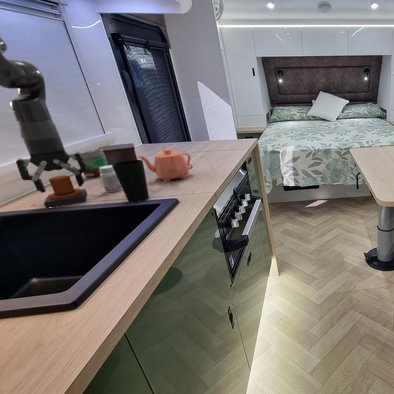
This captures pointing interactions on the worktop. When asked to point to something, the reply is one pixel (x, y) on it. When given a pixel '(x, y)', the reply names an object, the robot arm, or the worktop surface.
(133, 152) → the brown tapered pot
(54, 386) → the worktop surface
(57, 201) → the stand
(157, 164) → the teapot
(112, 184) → the pill bottle
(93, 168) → the food container
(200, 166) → the worktop surface
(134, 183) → the cup
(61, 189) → the hat
